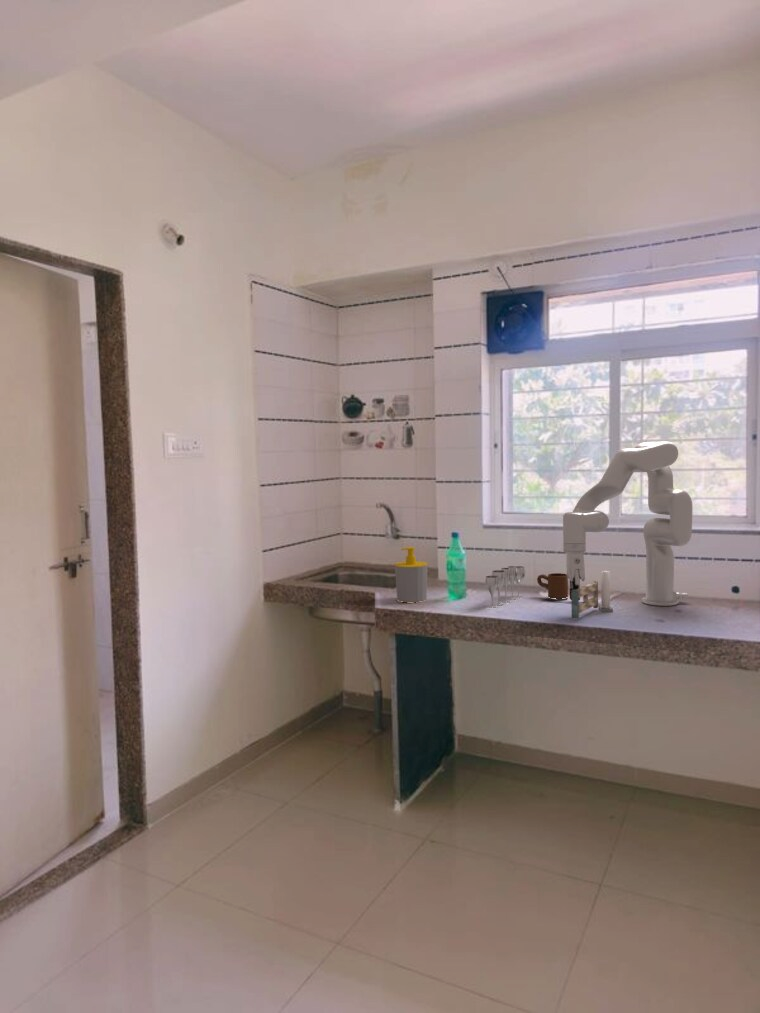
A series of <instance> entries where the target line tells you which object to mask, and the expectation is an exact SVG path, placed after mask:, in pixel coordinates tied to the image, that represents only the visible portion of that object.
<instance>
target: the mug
mask: <svg viewBox="0 0 760 1013" xmlns="http://www.w3.org/2000/svg"><path fill="white" fill-rule="evenodd" d="M542 579H544V580H546V581H547V583H546V582H543V581H542ZM536 580H537V584H538V585H539V586H540V587H542V588H545V589H546V590H547V597H550V598H556V599H562V598H566V597H568V598H569V578H568V577H567V573H563V572H562V573H561V572H560V573H559V572H557V573H555V572H554V573H548V575H546V574H539V575H538V576H537V578H536Z"/></svg>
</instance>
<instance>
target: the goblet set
mask: <svg viewBox="0 0 760 1013" xmlns="http://www.w3.org/2000/svg"><path fill="white" fill-rule="evenodd" d="M526 575H527V574H526V569H525V566H523V565H522V566H520V565H518V566H516V565H515V566H514V565H510V566H507V567H501V568H500V570H499V569H497V570H492V572H491V575H487V576H485V579H484V580H485V582H484V583H485V587H486V589H487V590H488V593H489V594H490V598H491V606H488V607H489V608H496V606H493V605H494V604H495V605H497V606H502V607H504V606H503V605H505V603H507V604H511V603H510V602H511V601H510V600H515V601H517V600H516V599H522V598H521V597H523V596H524V595H520V584H521V582H522V581H523V580H524V579H525V577H526ZM515 582H516V584H517V595H513V594H514V593H513V592H514V589H513V588H514V583H515ZM509 583H510V586H511V598H508V599H509V600H507V589H508V585H509ZM503 587H504V597H505V598H504V599H505V600H504V601H503V600H502V601H501V600H500V599H501V598H500V595H501V594H500V592H501V589H503ZM496 590H497V594H498V603H494V602H493V601H494V594H495V592H496ZM513 596H514V597H516V598H514V597H513ZM517 597H519V598H517ZM501 602H502V603H501ZM493 603H494V604H493Z"/></svg>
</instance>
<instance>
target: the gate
mask: <svg viewBox="0 0 760 1013" xmlns="http://www.w3.org/2000/svg"><path fill="white" fill-rule="evenodd" d="M592 592H593V594H592V595H593V596H592V597H591V598H589V594H591V593H592ZM579 597H580V598H581V597H582V598H583V599H582V602H580V600H579ZM570 601H571V604H570V605H571V619H575V620H578V619H579V618H580V613H582V612H585V611H587V610H589V609H590V608H592V607H593V609H599V581H598V580H594V581H593V582H591V583H588V584H585V585H584V586H580V588H578V589H576V590H571V599H570Z"/></svg>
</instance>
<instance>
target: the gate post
mask: <svg viewBox="0 0 760 1013" xmlns="http://www.w3.org/2000/svg"><path fill="white" fill-rule="evenodd" d="M600 574H601V575H600V580H601V581H600V582H601V583H600V584H601V585H600V586H601V587H600V592H601V593H600V594H601V598H600V599H601V600H600V602H601V605H598V610H599V609H600V610H599V612H601V613H613V612H614V609H613V607H612V606H611V571H609V570H601V572H600Z"/></svg>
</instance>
